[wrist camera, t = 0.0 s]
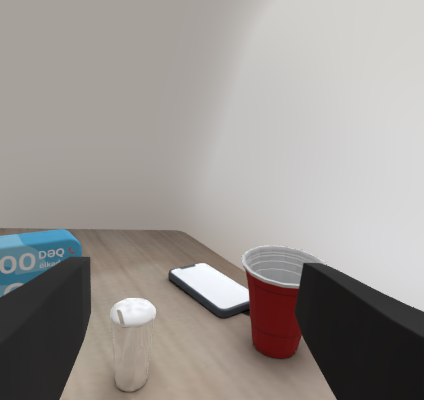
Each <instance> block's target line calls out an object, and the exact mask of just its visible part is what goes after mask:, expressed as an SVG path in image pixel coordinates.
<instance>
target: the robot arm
mask: <svg viewBox="0 0 424 400" xmlns="http://www.w3.org/2000/svg"><path fill="white" fill-rule="evenodd" d="M90 314H91V282H90V257H68V258H66V259H64V260H63V261H61V262H59V263H58V264H56V265H54V266H53V267H51V268H50V269H48V270H46V271H45V272H43V273H42V274H40V275H38V276H37V277H35V278H33V279H32V280H30V281H28V282H27V283H25V284H23V285H21V286H20V287H18V288H16V289H14V290H12V291H11V292H9V293H7V294H5V295H3V296H1V297H0V400H59V399H60V397H61V395H62V392H63V390H64V387H65V385H66V382H67V380H68V378H69V375H70V373H71V370H72V368H73V366H74V363H75V361H76V358H77V356H78V353H79V351H80V348H81V346H82V343H83V341H84V337H85V333H86V330H87V326H88V322H89V318H90ZM294 314H295V317H296V320H297V322H298V325H299V328H300V330H301V333H302V336H303V338H304V340H305V342H306V344H307V346H308V348H309V350H310V352H311V353H312V355H313V357H314V359H315V361H316V363H317V364H318V366H319V368H320V370H321V372H322V374H323V375H324V377H325V379H326V381H327V383H328V384H329V386H330V388H331V390H332V392H333V394H334V395H335V397H336V399H337V400H424V312H423V311H421V310H418V309H416V308H414V307H411V306H409V305H406V304H404V303H402V302H400V301H398V300H396V299H394V298H392V297H389V296H387V295H385V294H383V293H381V292H379V291H377V290H375V289H373V288H371V287H369V286H367V285H365V284H363V283H361V282H359V281H358V280H356V279H354V278H352V277H350V276H348V275H346V274H344V273H342V272H340V271H338V270H336V269H333V268H332V267H329V266H327V265H324V264H322V263H303V268H302V274H301V279H300V284H299V290H298V295H297V300H296V306H295V311H294Z"/></svg>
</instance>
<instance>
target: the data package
mask: <svg viewBox="0 0 424 400" xmlns="http://www.w3.org/2000/svg"><path fill="white" fill-rule="evenodd" d="M68 257H82V247H81V244H80V242H79V241H78V240H77V239H76V238H75V237H74V236H73V235H72V234H71V233H70V232H68V231H66V230H52V231H43V232H34V233H24V234H15V235H6V236H0V297H1V296H3V295H5V294H7V293H9V292H11V291H12V290H14V289H16V288H18V287H20V286H21V285H23V284H25V283H27V282H28V281H30V280H32V279H33V278H35V277H37V276H38V275H40V274H42V273H43V272H45V271H46V270H48V269H50V268H51V267H53V266H54V265H56V264H58V263H59V262H61V261H63V260H64V259H66V258H68Z"/></svg>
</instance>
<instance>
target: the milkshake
mask: <svg viewBox="0 0 424 400" xmlns="http://www.w3.org/2000/svg"><path fill="white" fill-rule="evenodd" d="M155 315H156V309H155V307H154V306H153V305H152V304H151V303H150V302H149V301H148V300H146V299H141V298H126V299H124V300H122V301H120V302H118V303H116V304H115V305H114V306H113V307H112V309H111V311H110V319H111V330H112V339H113V350H114V368H115V381H116V387H118V388H119V389H121V390H122V391H135V390H137V389H139V388H142V386H143V385H144V383H145V382H146V379H147V372H148V364H149V357H150V349H151V341H152V334H153V328H154V321H155Z"/></svg>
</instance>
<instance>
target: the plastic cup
mask: <svg viewBox="0 0 424 400" xmlns="http://www.w3.org/2000/svg"><path fill="white" fill-rule="evenodd" d="M242 261H243V267H244V268H245V270H246V274H247V280H248V288H249V304H250V318H251V326H252V339H253V344H254V346H255V347H256V349H257V350H258V351H260V352H261V353H263V354H264V355H267V356H270V357H273V358H281V359H282V358H287V357H290V356H292V355H293V354H295V351H296V350H297V347H298V345H299V341H300V338H301V335H302V333H301V330H300V328H299V325H298V322H297V320H296V317H295V314H294V311H295V306H296V300H297V295H298V290H299V284H300V279H301V274H302V268H303V263H322V264H324V265H327V264H326V263H325V262H324V261H322V260H321V259H320V258H318V257H317V256H315V255H313V254H310V253H308V252H305V251H303V250H300V249H295V248H291V247H287V246H273V245H269V246H259V247H255V248H252V249H250V250H247V251H246V252H245V253H244V255H243V256H242Z"/></svg>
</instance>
